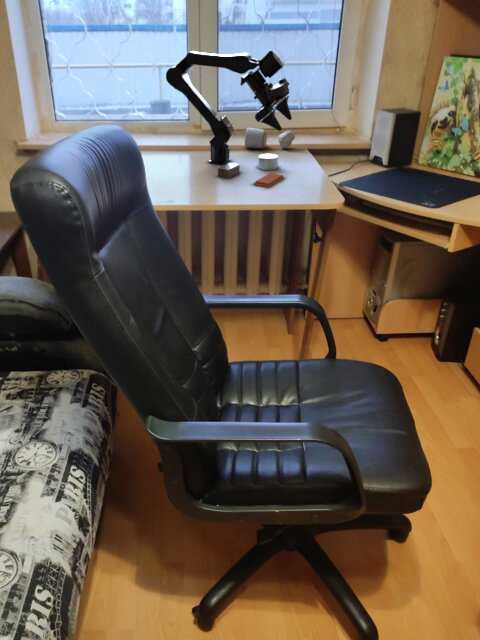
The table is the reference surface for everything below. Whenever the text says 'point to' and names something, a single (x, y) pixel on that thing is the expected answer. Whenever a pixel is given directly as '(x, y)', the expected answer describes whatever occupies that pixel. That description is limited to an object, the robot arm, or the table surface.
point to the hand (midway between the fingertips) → (286, 124)
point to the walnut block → (228, 170)
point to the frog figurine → (286, 139)
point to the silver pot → (268, 162)
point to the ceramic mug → (255, 138)
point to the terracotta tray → (268, 180)
